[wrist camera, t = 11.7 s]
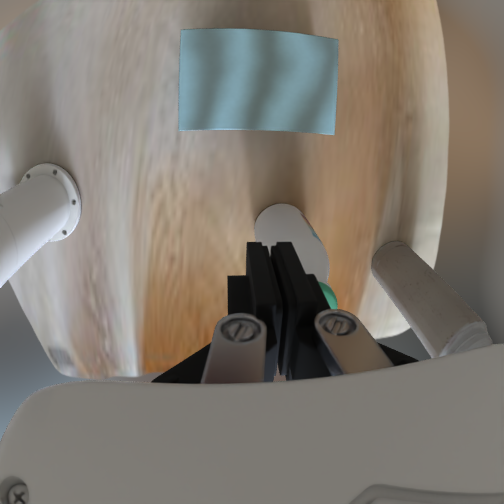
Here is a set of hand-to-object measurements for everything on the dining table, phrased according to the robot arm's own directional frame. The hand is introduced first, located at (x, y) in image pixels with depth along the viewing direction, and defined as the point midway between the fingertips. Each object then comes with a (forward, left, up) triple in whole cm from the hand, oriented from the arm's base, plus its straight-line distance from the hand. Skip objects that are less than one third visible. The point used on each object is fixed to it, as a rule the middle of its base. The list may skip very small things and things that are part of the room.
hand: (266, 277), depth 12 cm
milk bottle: (+6, -10, -31) cm, 33 cm away
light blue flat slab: (+2, +10, -23) cm, 25 cm away
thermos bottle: (+26, -16, -31) cm, 44 cm away
